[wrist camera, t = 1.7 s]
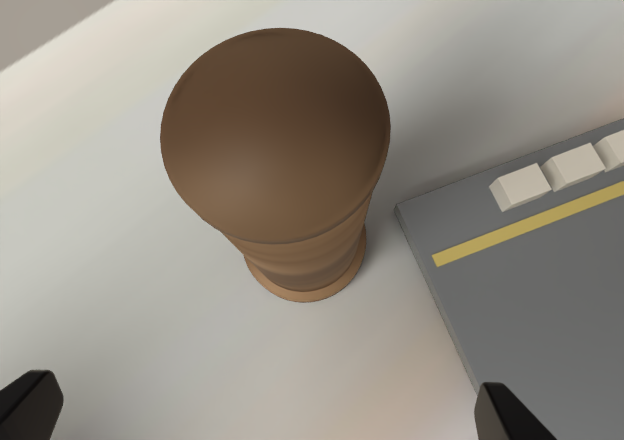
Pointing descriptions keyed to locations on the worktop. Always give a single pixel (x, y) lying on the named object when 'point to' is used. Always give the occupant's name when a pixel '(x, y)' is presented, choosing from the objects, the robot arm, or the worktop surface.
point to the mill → (281, 154)
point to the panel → (533, 289)
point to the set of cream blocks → (559, 172)
